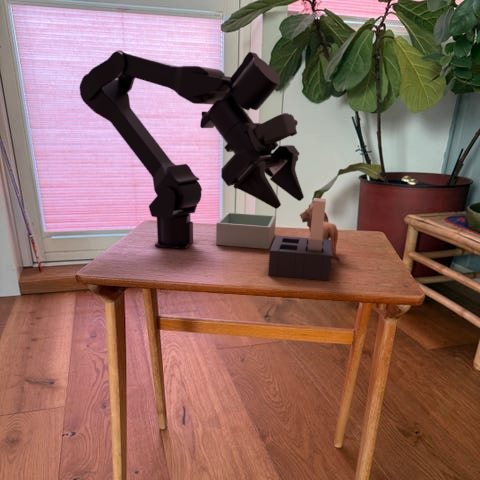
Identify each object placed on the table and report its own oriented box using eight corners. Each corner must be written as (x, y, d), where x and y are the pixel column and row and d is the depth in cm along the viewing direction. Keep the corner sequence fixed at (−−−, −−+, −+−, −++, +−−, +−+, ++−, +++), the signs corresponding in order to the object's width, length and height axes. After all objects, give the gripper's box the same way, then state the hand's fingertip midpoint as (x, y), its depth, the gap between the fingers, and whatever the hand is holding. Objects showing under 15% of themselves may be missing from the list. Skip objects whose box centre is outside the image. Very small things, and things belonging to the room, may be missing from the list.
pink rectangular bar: (304, 275, 80) (312, 200, 75) (305, 270, 82) (312, 198, 77) (318, 276, 80) (327, 201, 74) (318, 272, 82) (327, 198, 77)
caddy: (268, 275, 79) (269, 250, 78) (274, 258, 89) (276, 235, 87) (328, 281, 78) (332, 255, 76) (328, 262, 87) (331, 239, 85)
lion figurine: (294, 244, 99) (298, 202, 95) (316, 242, 100) (320, 201, 96) (328, 264, 86) (333, 217, 82) (352, 262, 88) (359, 216, 84)
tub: (216, 244, 96) (216, 223, 94) (226, 232, 106) (227, 212, 104) (268, 249, 94) (270, 227, 92) (274, 235, 104) (275, 215, 102)
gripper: (239, 91, 67) (301, 177, 66) (293, 96, 81) (344, 166, 81) (196, 145, 73) (252, 223, 73) (253, 141, 88) (300, 206, 88)
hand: (290, 202), depth 78 cm, fingers open, 9 cm apart
